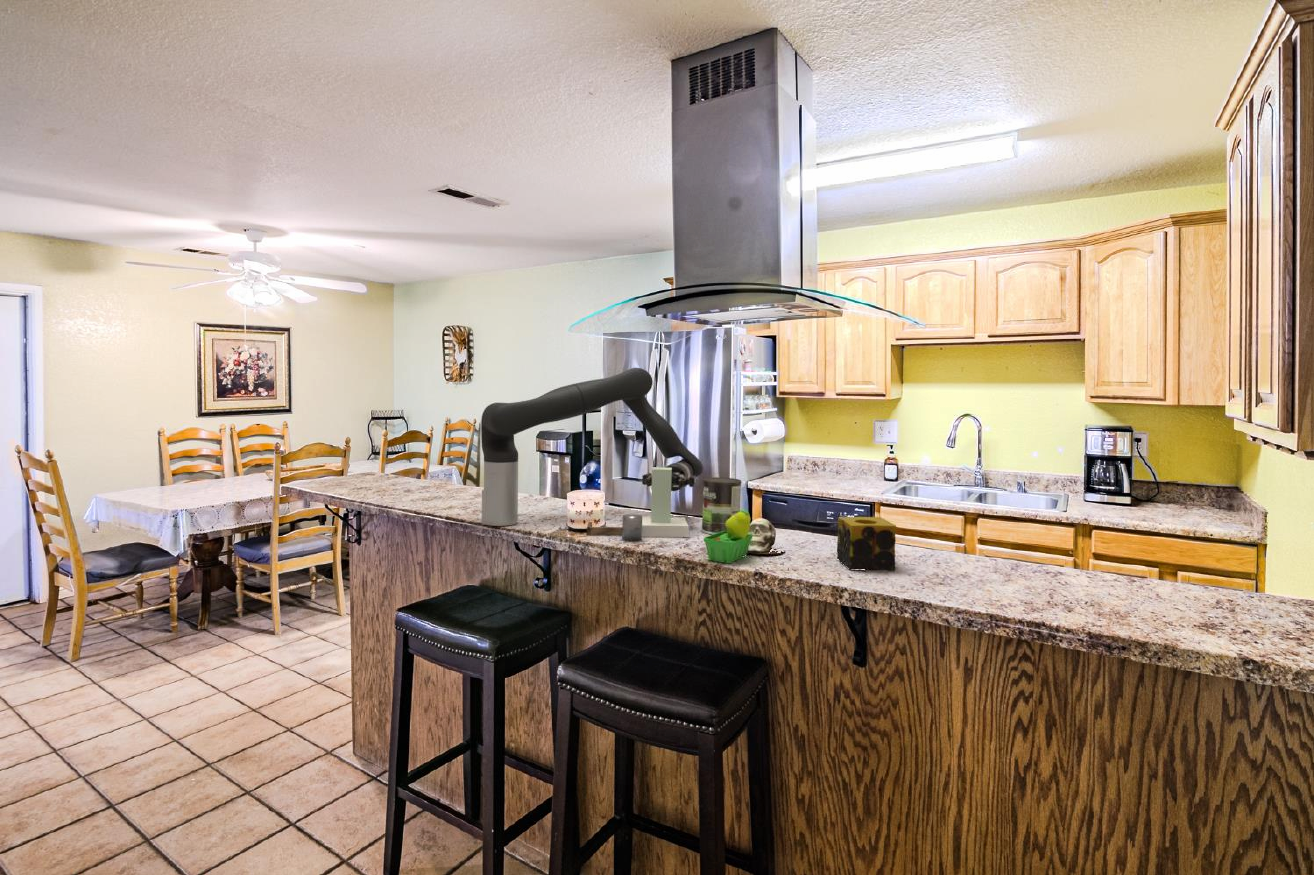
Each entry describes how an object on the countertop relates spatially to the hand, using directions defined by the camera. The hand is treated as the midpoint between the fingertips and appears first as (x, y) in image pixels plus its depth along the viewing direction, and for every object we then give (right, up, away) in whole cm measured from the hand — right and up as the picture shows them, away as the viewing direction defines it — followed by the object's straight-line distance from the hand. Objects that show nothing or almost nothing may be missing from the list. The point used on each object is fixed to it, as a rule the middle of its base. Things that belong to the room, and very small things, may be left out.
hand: (664, 483), depth 182 cm
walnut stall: (-15, -13, 0) cm, 19 cm away
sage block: (-1, -10, 0) cm, 10 cm away
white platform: (-1, -13, 0) cm, 13 cm away
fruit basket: (+15, -15, -28) cm, 35 cm away
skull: (+22, -15, -19) cm, 33 cm away
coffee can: (+15, -13, +2) cm, 20 cm away
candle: (+44, -16, -31) cm, 56 cm away
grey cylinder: (-8, -13, -10) cm, 19 cm away
